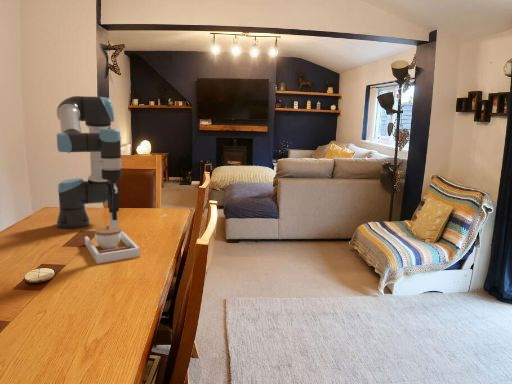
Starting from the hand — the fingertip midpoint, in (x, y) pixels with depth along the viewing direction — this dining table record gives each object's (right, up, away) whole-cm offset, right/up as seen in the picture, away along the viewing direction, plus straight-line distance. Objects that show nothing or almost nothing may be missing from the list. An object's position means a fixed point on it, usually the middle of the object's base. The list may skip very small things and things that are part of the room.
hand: (114, 227), depth 157 cm
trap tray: (0, -12, +3) cm, 12 cm away
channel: (-4, -10, +9) cm, 14 cm away
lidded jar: (-7, -10, +12) cm, 17 cm away
